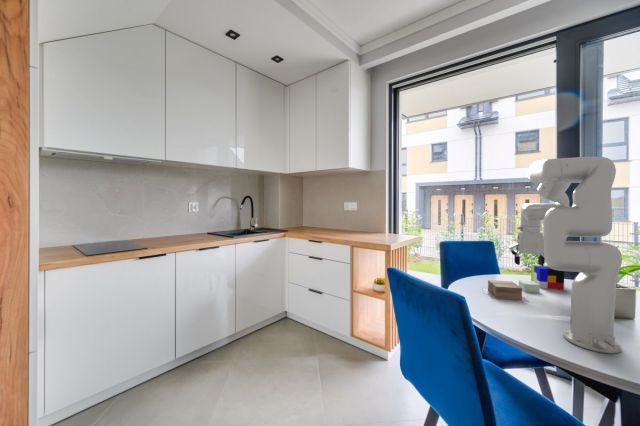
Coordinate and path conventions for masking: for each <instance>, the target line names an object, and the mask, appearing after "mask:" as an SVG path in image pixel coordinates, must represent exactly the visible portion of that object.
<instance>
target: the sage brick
mask: <svg viewBox="0 0 640 426" xmlns="http://www.w3.org/2000/svg"><path fill="white" fill-rule="evenodd" d="M518 286H520V287H521V288H522V292H525V293H538V294H539V293H540V289H541V288H540V285H539V284H537V283H535V282H534V281H531V280H521V279H520V280H518Z"/></svg>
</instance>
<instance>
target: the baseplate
mask: <svg viewBox="0 0 640 426" xmlns="http://www.w3.org/2000/svg"><path fill="white" fill-rule="evenodd" d="M482 291H483V292H485V293H486V294H487V295H488V296H489V297H490V299H492V300H504V301H515V302H525V303H527V302H530V301H529V300H528V299H527V298H525V297H524V296H522V300H521V299H508V298H496V297H495V296H494V295H492V294H491V293H490V292H489V291H488V288H482Z"/></svg>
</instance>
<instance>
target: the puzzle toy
mask: <svg viewBox="0 0 640 426" xmlns="http://www.w3.org/2000/svg"><path fill="white" fill-rule="evenodd" d="M530 265H531V269H530V270H531V271H530V274H531V275H530V281H534V282H535V283H537V284H539V285H540V289H551V290H562V291H564V290H565V271H559V270H554V269H551V268H550V267H549V266H548V265H547V264H544V266H541V265H539V264H538V263H531V264H530Z"/></svg>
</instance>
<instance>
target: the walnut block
mask: <svg viewBox="0 0 640 426" xmlns="http://www.w3.org/2000/svg"><path fill="white" fill-rule="evenodd" d="M487 289H488V291H489V292H490V293H491V294H492V295H494V296H495V297H496V298H508V299H521V300H522V297H523V290H522V288H521V287H520V286H519V284H517V283H515V282H514V281H510V280H509V281H508V280H507V281H506V280H496V279H495V280H492V279H488V280H487Z"/></svg>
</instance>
